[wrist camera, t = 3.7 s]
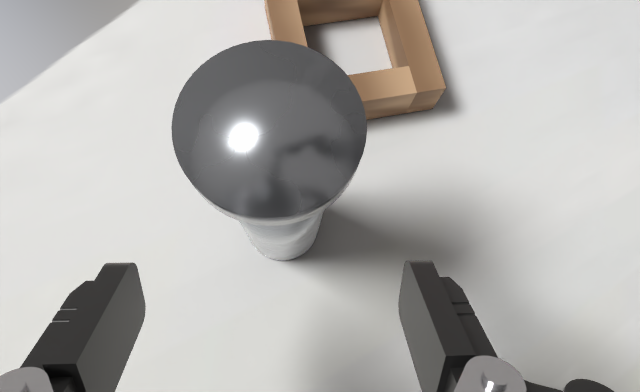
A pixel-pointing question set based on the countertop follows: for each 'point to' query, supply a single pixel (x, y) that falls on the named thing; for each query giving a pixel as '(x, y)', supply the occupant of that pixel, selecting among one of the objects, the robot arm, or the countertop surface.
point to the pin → (270, 139)
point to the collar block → (401, 41)
